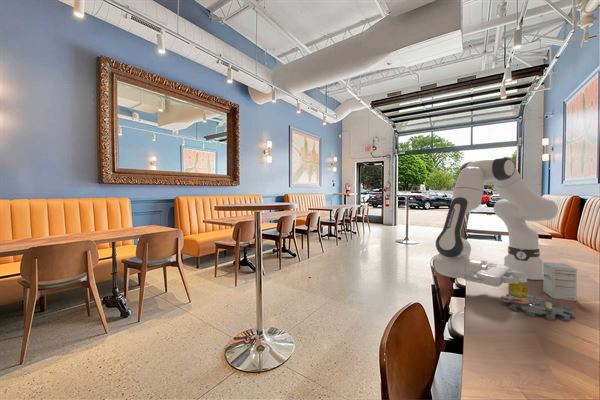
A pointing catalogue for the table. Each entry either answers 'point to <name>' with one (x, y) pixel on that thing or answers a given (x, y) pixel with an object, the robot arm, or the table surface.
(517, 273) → the supplement bottle
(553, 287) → the supplement box
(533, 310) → the sprocket wheel
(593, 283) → the table surface
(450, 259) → the robot arm
